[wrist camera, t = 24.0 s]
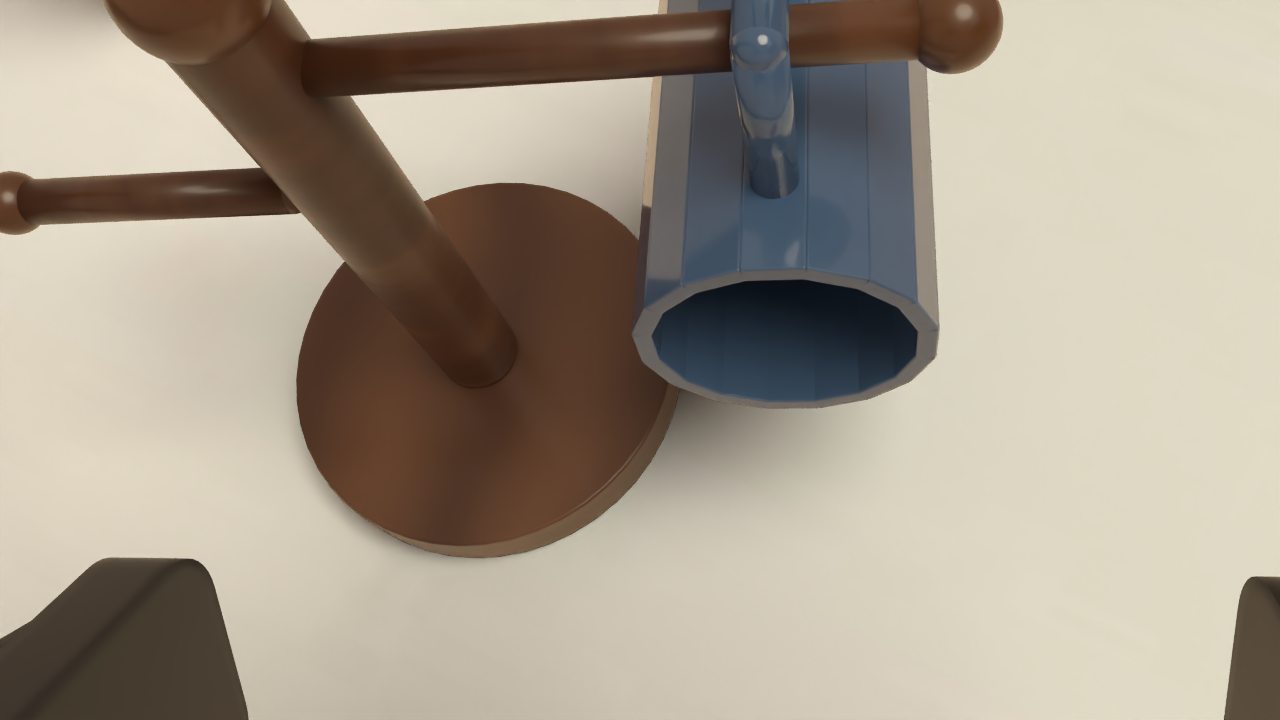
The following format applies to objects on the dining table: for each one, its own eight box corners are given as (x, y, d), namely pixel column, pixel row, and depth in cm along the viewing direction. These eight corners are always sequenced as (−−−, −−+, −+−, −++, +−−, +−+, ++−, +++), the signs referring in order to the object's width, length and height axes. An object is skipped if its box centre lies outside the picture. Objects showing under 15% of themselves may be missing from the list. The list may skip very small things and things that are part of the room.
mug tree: (183, 553, 33) (-487, 271, 17) (251, 217, 38) (-233, -274, 21) (955, 566, 29) (1069, 212, 13) (937, 188, 34) (1006, -446, 17)
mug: (915, 57, 29) (930, 408, 24) (682, 71, 30) (659, 410, 25) (935, -320, 20) (964, 118, 16) (608, -280, 21) (555, 139, 17)
